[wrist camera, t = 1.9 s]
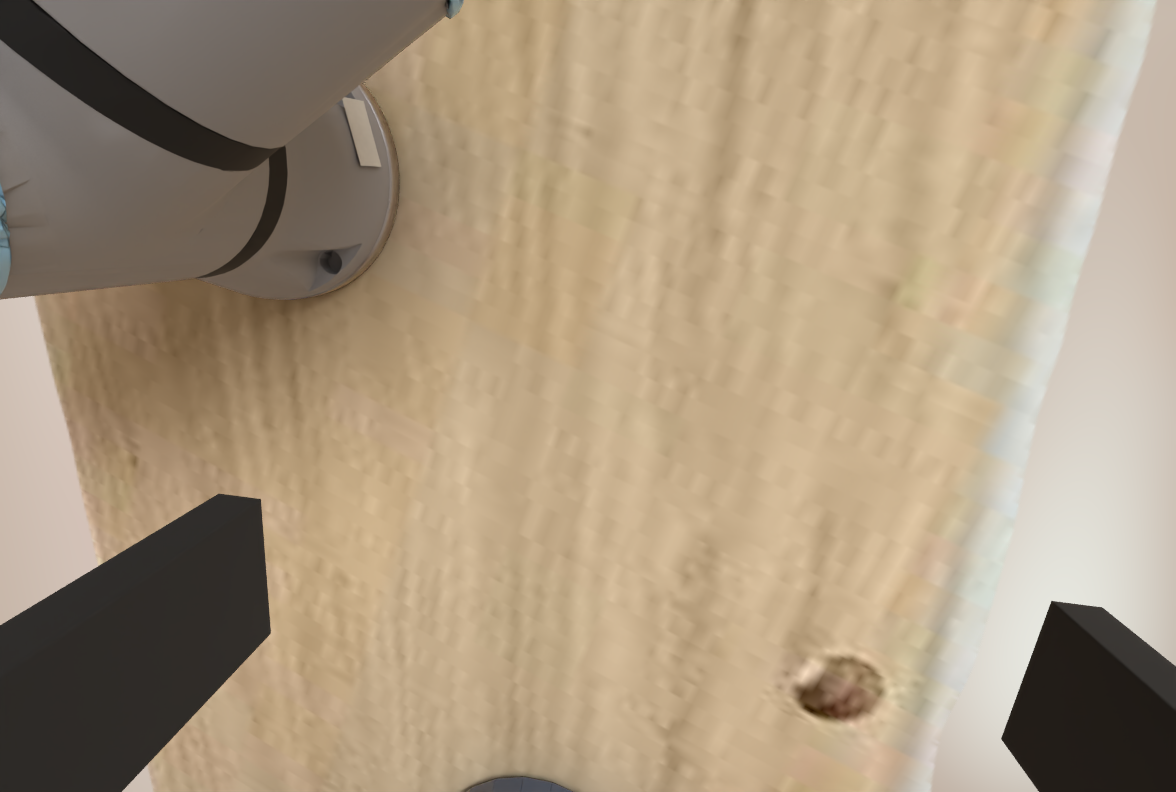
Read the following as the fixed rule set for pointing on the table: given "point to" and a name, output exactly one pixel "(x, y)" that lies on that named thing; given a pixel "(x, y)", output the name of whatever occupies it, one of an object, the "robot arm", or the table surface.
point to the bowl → (517, 785)
